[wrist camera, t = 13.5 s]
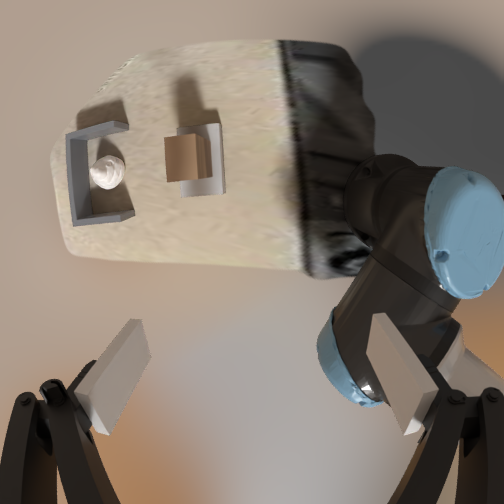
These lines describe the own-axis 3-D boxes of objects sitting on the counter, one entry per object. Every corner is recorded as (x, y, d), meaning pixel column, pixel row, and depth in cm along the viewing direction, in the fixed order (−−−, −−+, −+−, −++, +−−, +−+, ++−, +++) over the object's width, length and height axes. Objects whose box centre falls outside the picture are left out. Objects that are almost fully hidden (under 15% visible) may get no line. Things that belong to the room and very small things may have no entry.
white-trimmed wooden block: (222, 126, 38) (205, 109, 27) (225, 192, 41) (211, 201, 30) (182, 130, 39) (153, 117, 27) (186, 195, 41) (158, 205, 30)
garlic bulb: (113, 161, 34) (101, 197, 36) (131, 162, 40) (120, 193, 42) (85, 150, 34) (75, 184, 35) (105, 151, 40) (95, 181, 41)
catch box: (128, 124, 38) (113, 120, 34) (135, 215, 43) (120, 221, 38) (82, 136, 39) (65, 134, 34) (89, 220, 43) (73, 226, 38)
